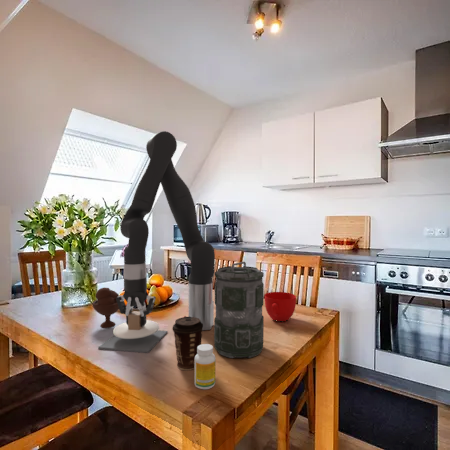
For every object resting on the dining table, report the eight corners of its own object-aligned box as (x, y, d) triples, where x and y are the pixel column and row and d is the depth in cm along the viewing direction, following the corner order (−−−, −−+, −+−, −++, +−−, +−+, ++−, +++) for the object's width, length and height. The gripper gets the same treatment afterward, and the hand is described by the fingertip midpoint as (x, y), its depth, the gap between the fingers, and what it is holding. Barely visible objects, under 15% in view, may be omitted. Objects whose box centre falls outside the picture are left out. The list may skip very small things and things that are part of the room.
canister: (231, 335, 109) (232, 257, 108) (271, 346, 100) (272, 261, 99) (204, 351, 96) (204, 263, 95) (247, 365, 87) (247, 268, 86)
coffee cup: (189, 355, 93) (189, 313, 93) (209, 363, 88) (209, 319, 88) (167, 365, 86) (167, 320, 86) (187, 375, 81) (187, 327, 81)
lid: (165, 323, 110) (164, 307, 110) (148, 339, 95) (148, 321, 95) (126, 321, 113) (126, 305, 112) (104, 337, 98) (103, 319, 98)
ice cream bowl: (113, 331, 112) (112, 291, 112) (86, 329, 114) (86, 289, 114) (127, 321, 123) (127, 284, 122) (103, 319, 125) (102, 283, 124)
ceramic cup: (256, 325, 119) (257, 299, 119) (269, 312, 135) (269, 290, 134) (289, 330, 114) (290, 304, 114) (298, 317, 129) (299, 293, 129)
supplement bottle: (191, 381, 78) (191, 344, 78) (210, 376, 81) (210, 341, 80) (198, 392, 74) (199, 353, 73) (218, 386, 76) (219, 349, 76)
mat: (167, 332, 111) (167, 330, 111) (148, 353, 94) (148, 351, 94) (124, 329, 114) (124, 327, 114) (98, 348, 97) (98, 347, 97)
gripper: (159, 274, 106) (160, 322, 107) (121, 273, 108) (122, 321, 109) (150, 279, 99) (151, 331, 99) (110, 278, 101) (111, 329, 101)
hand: (136, 325), depth 104 cm, fingers closed on lid, 4 cm apart
